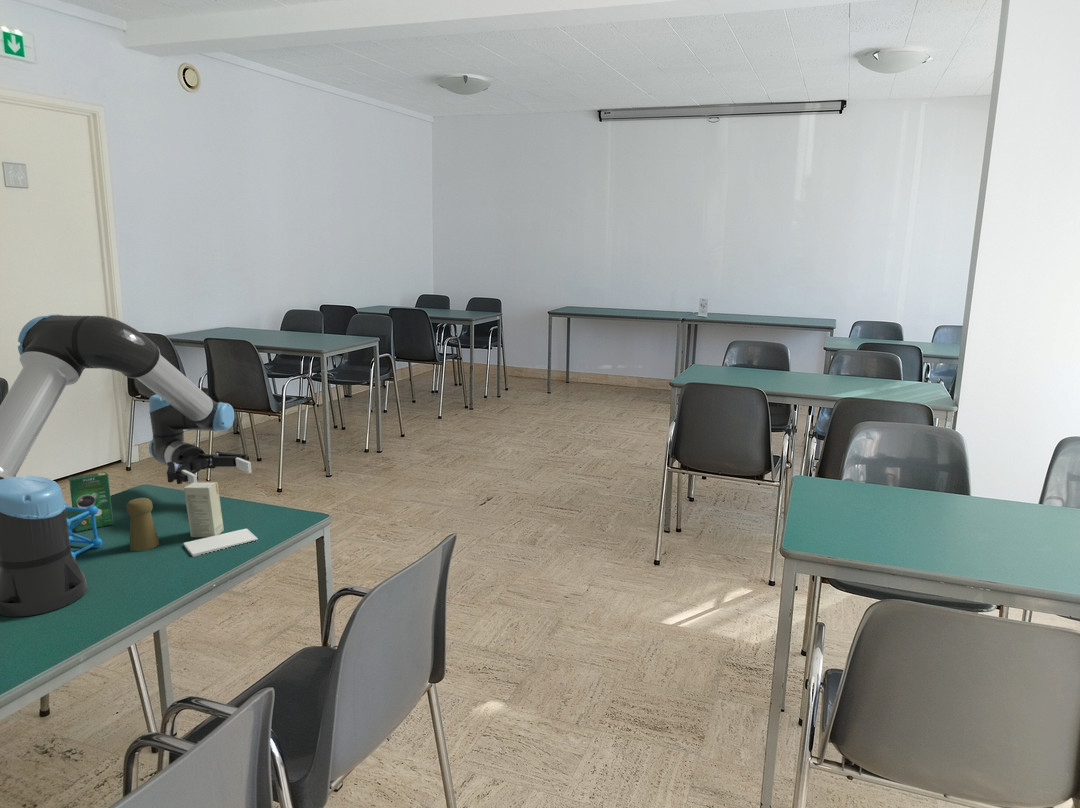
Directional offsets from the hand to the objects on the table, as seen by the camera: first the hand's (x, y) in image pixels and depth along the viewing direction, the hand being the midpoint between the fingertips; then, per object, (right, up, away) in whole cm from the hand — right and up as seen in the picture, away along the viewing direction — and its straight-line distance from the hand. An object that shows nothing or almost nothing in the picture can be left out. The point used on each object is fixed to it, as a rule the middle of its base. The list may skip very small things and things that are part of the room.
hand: (223, 474), depth 185 cm
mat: (+5, -14, -13) cm, 20 cm away
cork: (-12, -15, -14) cm, 24 cm away
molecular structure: (-27, -16, -18) cm, 36 cm away
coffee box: (-30, -13, -3) cm, 32 cm away
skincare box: (-1, -14, -8) cm, 16 cm away
